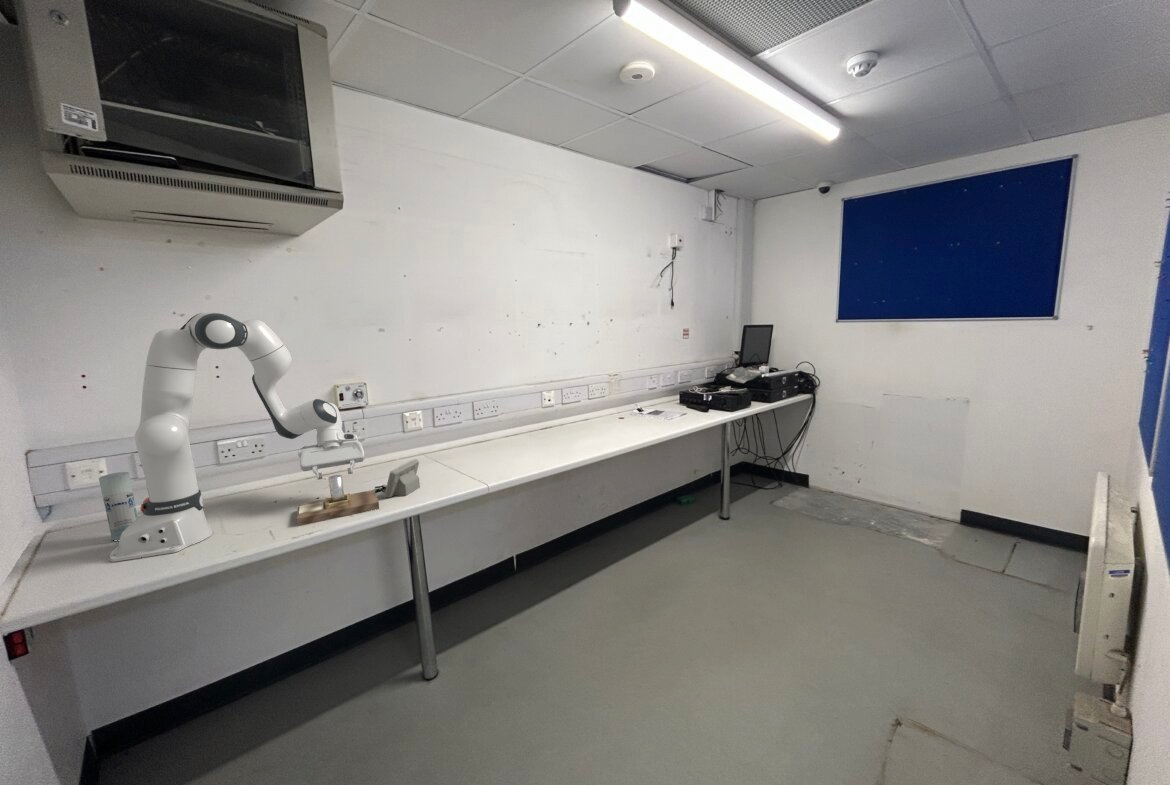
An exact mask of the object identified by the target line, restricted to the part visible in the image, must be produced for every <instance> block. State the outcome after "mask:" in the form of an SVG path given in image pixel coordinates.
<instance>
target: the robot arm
mask: <svg viewBox="0 0 1170 785" xmlns="http://www.w3.org/2000/svg"><path fill="white" fill-rule="evenodd" d="M232 348H238V350H240V351H241V352H242V353H243V354H244V356H245V357H246V359H247V360H248V361H249V362H250V364H251V366H252V369H253V372H254V374H252V376H251V377H252V378H251V381H252V384H253V386H254V389H255V391H256V393H257V395H258V397H259V398H260V401H261V402H262V404H263V406H264V408H265V409H266V412H267V413H268V414H269V417H270V419H271V421H272V424H273V428H274V430H275V432H276V433H277V434H278V436H280V437H282V438H285V439H290V440H294V439H296V438H298V437H301V436H302V435H304V434H306V433H308V432H310V431H314V430H315V431H316V444H313V445H305V446H303V447H301V448H300V449H298V451H297V455H298V458H299V467H300V470H301V471H302V472H310V471H312V473H313V474H315V476H316V480H319V481H320V480H323V473H322V472H318V470H320V469H321V470H322V469H327V468H334V467H339V466H344V465H350V467H347V474H348V475H352V474H353V473H354V472H353V470H354V468H355V466H356V464H358V463H363V462H364V461H365V459H366V456H365V452H364V448H363V445H362V443H361V441H360V440H359V437H358V434H355V433H347V432H344V431H343V420H342V416H341V412H340V410H339V408H338V406H337V405H336V404H334V403H333V402H328V401H325V400H323V399H319V398H315V399H312V400H310V401H307V402H304V403H302V404H300V405H298V406H295V407H293V408H290V409H287V408H285V406H284V404H283V403H282V400H281V399H280V397H279V395H278V393H277V390H276V384H277V383H278V382H279V380H281V379H282V378H283V377H284V376H285V375H286V374H287V373H288V371H289V370H290V368H291V366H292V363H293V358H292V354H291V353H290V351H289V350H288V348H287V347H286V345H285V343H284V342H283V341H282V340H281V338H279V336H278V334H276V333H275V331H273V329H271V327H269V326H268V325H267V324H266V323H265V322H264V321H262V320H261V319H253V318H252V319H247V320H244V321H239V320H238V319H235V318H234V317H231V316H229V315H227V314H224V313H220V312H216V311H207V312H200V313H197V314H195V315H193V316H192V317H191V318H189V319H188V320H187V321H186V322H185V324H183V325H182V326H181V327H180V328H179V329H178V328H166V329H161V330H159V331H157V332H156V333H155V334H154V336H153V338H152V341H151V343H150V345H149V349H148V352H147V355H146V356H147V357H146V361H145V368H144V377H143V385H142V390H141V391H142V392H141V393H142V394H141V407H140V408H141V410H140V419H139V425H138V427H137V429H136V431H135V434H134V441H135V445H136V450H137V454H138V458H139V461H140V464H141V468H142V470H143V475H144V479H145V483H146V484H145V485H146V489H147V494H148V497H146V498H145V499H144V500H143V501H142V503H141V504H140V512H141V513H142V514H141V515H140V516H139V517H138V519H136V520H135V521H134V522H133V523H132V524H130V525H129V526H128V527H127V528H126V529H125V530H124V531H123V532H122V534H121V537H120V541H118V543H119V544H118V546H116V547H115V548H114V549H113V550H111V552H110V554H109V561H111V562H112V563H114V562H121V561H129V560H135V559H140V558H141V557H142V558H146V557H153V556H154V557H155V556H160V555H166V554H168V555H169V554H171V553H172V554H173V553H177V552H180V551H182V550H183V549H186V548H188V547H190V546H192V545H194V544H197V543H199V542H201V541H204V540H206V539H207V538H209V537H211V535H212V534H213V532H214V530H213V529H212V528H211V526H210V523H209V521H208V520H207V517H206V514H205V512H204V499H203V498H204V497H203V494H202V491H201V489H199V484H198V479H197V478H198V477H197V473H196V466H195V462H194V459H193V458H194V457H193V453H192V448H191V443H190V442H191V441H190V437H189V432H190V430H189V429H190V423H191V416H192V407H193V399H194V394H195V392H194V391H195V385H196V378H197V370H198V369H197V368H198V359H199V357H200V355H201V353H202V352H203V351H205V350H206V349H211V350H228V349H232Z"/></svg>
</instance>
